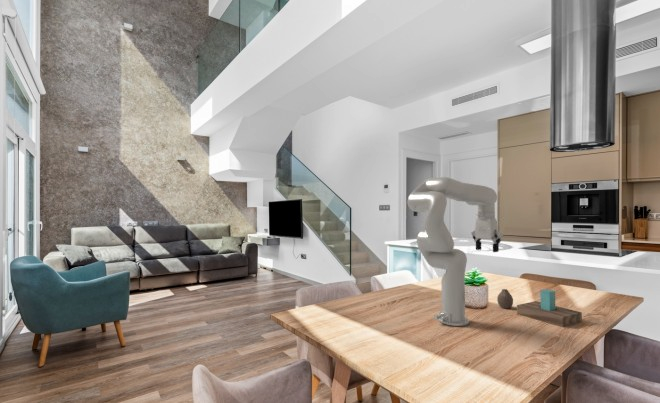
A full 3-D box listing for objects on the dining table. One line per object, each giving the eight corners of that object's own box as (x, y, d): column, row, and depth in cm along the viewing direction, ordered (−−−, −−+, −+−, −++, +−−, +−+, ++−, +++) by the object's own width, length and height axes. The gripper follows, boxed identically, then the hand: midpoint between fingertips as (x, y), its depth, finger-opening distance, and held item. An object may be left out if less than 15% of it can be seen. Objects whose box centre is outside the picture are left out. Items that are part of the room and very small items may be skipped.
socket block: (562, 327, 141) (562, 317, 141) (517, 313, 158) (517, 305, 158) (581, 321, 147) (581, 312, 147) (536, 309, 165) (535, 301, 165)
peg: (549, 319, 150) (549, 292, 150) (540, 316, 154) (540, 290, 154) (555, 318, 152) (555, 291, 152) (546, 315, 155) (546, 289, 155)
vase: (511, 310, 163) (511, 292, 164) (496, 307, 168) (495, 290, 168) (514, 307, 169) (514, 289, 169) (499, 304, 173) (498, 287, 173)
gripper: (466, 215, 172) (467, 249, 172) (496, 216, 157) (497, 253, 157) (477, 215, 176) (477, 248, 175) (507, 215, 160) (508, 252, 160)
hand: (486, 250), depth 166 cm, fingers open, 9 cm apart
